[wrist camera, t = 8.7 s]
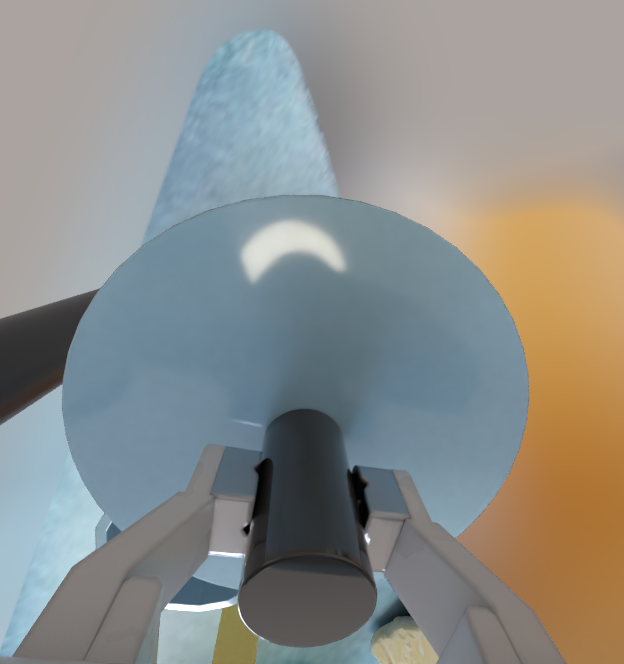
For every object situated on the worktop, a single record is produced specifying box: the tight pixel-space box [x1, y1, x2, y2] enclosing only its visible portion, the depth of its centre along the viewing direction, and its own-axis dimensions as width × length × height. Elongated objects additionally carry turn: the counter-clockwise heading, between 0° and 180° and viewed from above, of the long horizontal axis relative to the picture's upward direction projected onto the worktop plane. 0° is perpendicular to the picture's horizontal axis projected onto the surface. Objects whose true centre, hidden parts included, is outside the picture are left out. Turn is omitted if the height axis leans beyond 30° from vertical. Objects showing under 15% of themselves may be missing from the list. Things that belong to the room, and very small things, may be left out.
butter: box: [212, 604, 258, 664], centre depth 32 cm, size 4×5×10 cm
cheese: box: [371, 616, 439, 664], centre depth 37 cm, size 15×7×15 cm
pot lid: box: [62, 195, 529, 647], centre depth 8 cm, size 15×15×6 cm
